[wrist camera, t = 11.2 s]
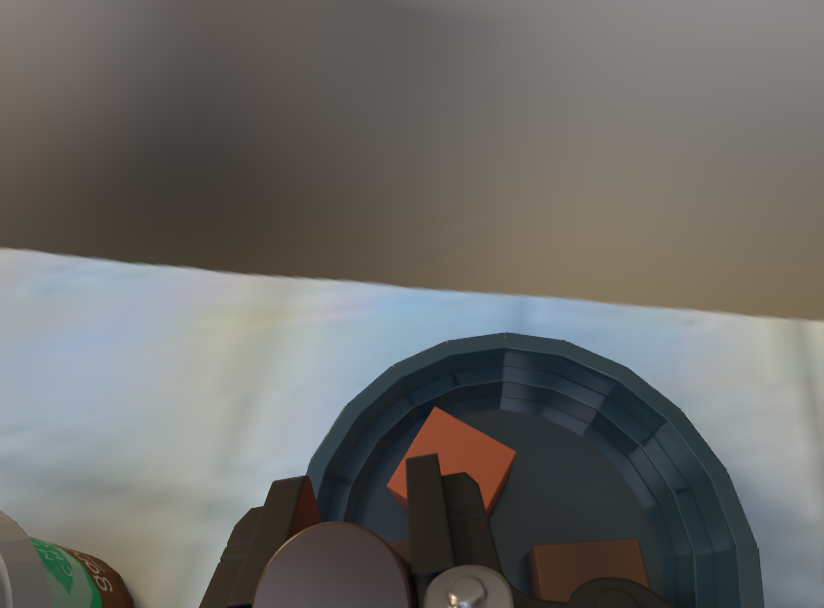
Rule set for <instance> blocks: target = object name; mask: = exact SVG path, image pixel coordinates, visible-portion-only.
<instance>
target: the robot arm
mask: <svg viewBox="0 0 824 608" xmlns="http://www.w3.org/2000/svg"><path fill="white" fill-rule="evenodd" d="M405 465H406V488H407V511H408V534H409V557H410V576H411V579H412V582H413V584H414V588H415V591H416V595H417V600H418V608H677V607H675V606H674V605H672V604H671V603H669V602H668V601H666V600H665V599H663V598H662V597H660V596H659V595H657V594H656V593H655V592H653V591H652V590H650V589H649V588H647V587H645V586H643V585H642V584H639V583H637V582H635V581H632V580H629V579H625V578H619V577H600V578H595V579H592V580H589V581H586V582H585V583H583V584H581V585H580V586H579V587H577V588H576V589H575V590H574V592H573V593H572V594H571V596H570V598H569V600H568V602H560V601H551V600H544V599H539V598H535V597H532V596H530V595H527V594H525V593H523V592H521V591H520V590H518V589H517V588H515V587H514V586H513V585H512V584H511V583H510V582H509V581H508V580H507V578H506V577H505V575H504V573H503V570H502V568H501V564H500V560H499V557H498V553H497V549H496V546H495V542H494V538H493V535H492V531H491V527H490V524H489V520H488V517H487V513H486V509H485V505H484V502H483V498H482V494H481V491H480V487H479V484H478V483H477V482H476V481H475V480H474V479H473V478H472V477H471V476H470V475H469V474H467V473H466V472H460V473H454V474H448V475H441V469H440V464H439V458H438V453H433V454H427V455H421V456H415V457H409V458H405ZM320 523H322V522H321V518H320V514H319V510H318V506H317V502H316V498H315V494H314V490H313V486H312V482H311V480H310V478H309V476H308V475H305V476H299V477H293V478H287V479H282V480H276V481H273V483H272V485H271V488H270V490H269V493H268V495H267V498H266V501H265V503H264V506H262V507H256V508H251V509H250V510H249V511H248V512H247V513H246V514H245V516H244V517H243V518H242V519H241V520H240V521H239V522H238V523H237V524H236V525H235V527H234V529H233V531H232V533H231V536H230V538H229V540H228V543H227V547H225V549H224V552H223V554H222V556H221V558H220V560H221V562H220V563H218V565H217V568H216V570H215V572H214V574H213V577H212V579H211V581H210V584H209V586H208V588H207V590H206V593H205V595H204V597H203V600H202V602H201V604H200V606H199V608H252V601H253V597H254V593H255V589H256V587H257V584H258V581H259V578H260V576H261V574H262V572H263V570H264V568H265V567H266V565H267V564H268V562H269V560H270V559H271V558H272V556H273V555H274V554H275V553H276V551H277V550H278V549H279V548H280V547H281V546H282V545H283V544H284V543H285V542H286V541H288V540H289V539H290V538H291V537H293V536H294V535H296V534H297V533H299V532H301V531H302V530H304V529H306V528H309V527H311V526H314V525H317V524H320Z"/></svg>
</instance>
